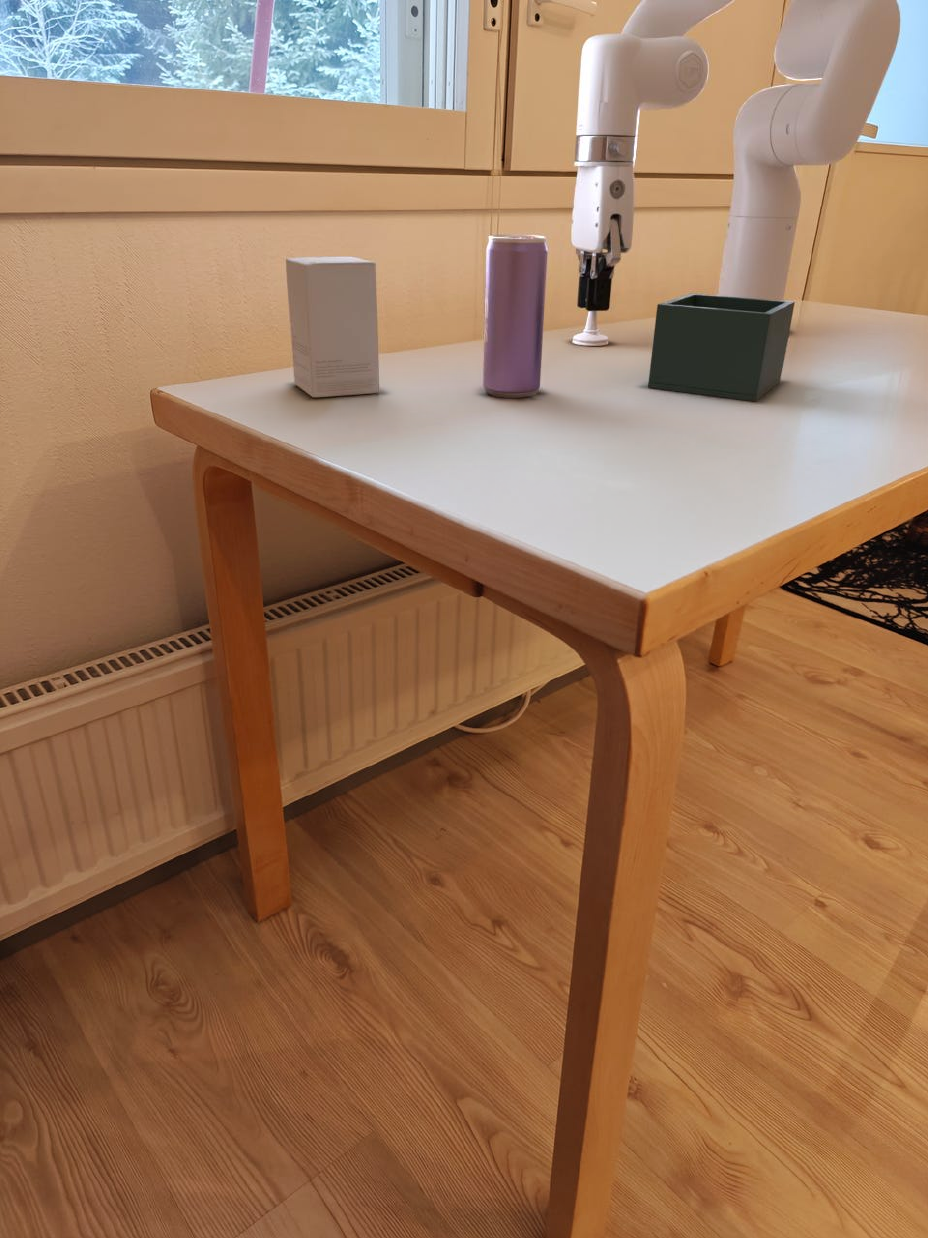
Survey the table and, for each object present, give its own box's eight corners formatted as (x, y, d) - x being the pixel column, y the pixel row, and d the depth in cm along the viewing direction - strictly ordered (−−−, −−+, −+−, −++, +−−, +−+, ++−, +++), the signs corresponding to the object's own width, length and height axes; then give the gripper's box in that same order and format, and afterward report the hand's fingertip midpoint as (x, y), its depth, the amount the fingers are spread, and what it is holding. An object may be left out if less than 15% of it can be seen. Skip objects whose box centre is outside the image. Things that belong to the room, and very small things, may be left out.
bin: (680, 369, 103) (690, 293, 99) (780, 381, 98) (794, 301, 94) (647, 387, 94) (657, 304, 90) (755, 401, 89) (770, 313, 85)
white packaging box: (381, 393, 89) (378, 261, 83) (311, 399, 86) (302, 262, 80) (359, 379, 95) (354, 254, 89) (292, 384, 92) (283, 256, 86)
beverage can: (541, 399, 88) (550, 238, 81) (482, 398, 88) (486, 237, 81) (537, 386, 93) (546, 234, 86) (482, 385, 93) (486, 233, 86)
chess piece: (564, 342, 118) (570, 263, 113) (587, 338, 121) (593, 261, 117) (593, 347, 115) (599, 266, 110) (615, 343, 118) (622, 264, 113)
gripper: (661, 153, 102) (644, 317, 110) (607, 155, 115) (595, 300, 124) (602, 152, 100) (589, 318, 108) (554, 154, 114) (546, 301, 122)
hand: (593, 307), depth 116 cm, fingers closed on chess piece
